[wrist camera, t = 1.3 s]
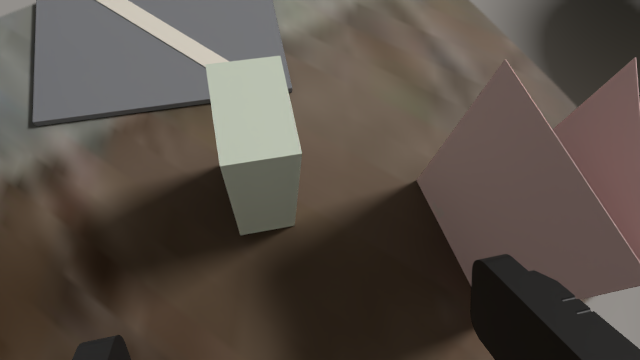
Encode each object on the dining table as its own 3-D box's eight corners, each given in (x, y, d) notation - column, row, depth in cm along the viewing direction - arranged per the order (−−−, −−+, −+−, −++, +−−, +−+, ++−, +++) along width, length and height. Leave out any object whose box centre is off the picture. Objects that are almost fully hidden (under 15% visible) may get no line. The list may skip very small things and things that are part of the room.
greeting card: (500, 323, 31) (674, 288, 18) (398, 298, 31) (491, 243, 18) (509, 179, 36) (652, 61, 22) (419, 157, 36) (507, 26, 22)
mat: (36, 126, 34) (31, 121, 34) (40, -19, 40) (36, -25, 39) (292, 92, 37) (292, 87, 37) (262, -38, 43) (262, -44, 42)
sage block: (240, 235, 32) (219, 166, 21) (229, 161, 34) (205, 64, 23) (294, 225, 33) (301, 153, 22) (280, 153, 35) (280, 55, 24)
